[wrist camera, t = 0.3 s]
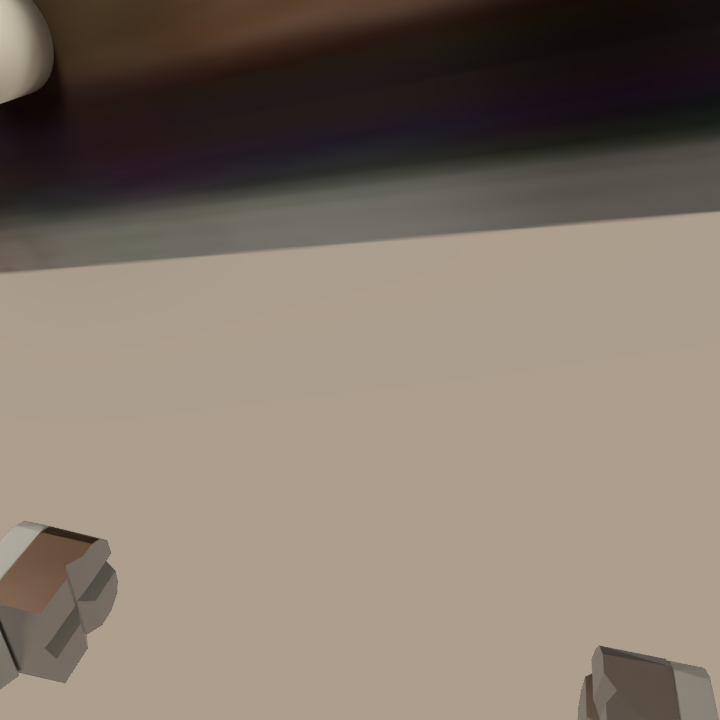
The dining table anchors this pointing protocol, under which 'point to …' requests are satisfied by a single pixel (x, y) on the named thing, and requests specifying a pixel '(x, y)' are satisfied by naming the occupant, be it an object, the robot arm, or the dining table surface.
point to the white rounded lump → (23, 49)
